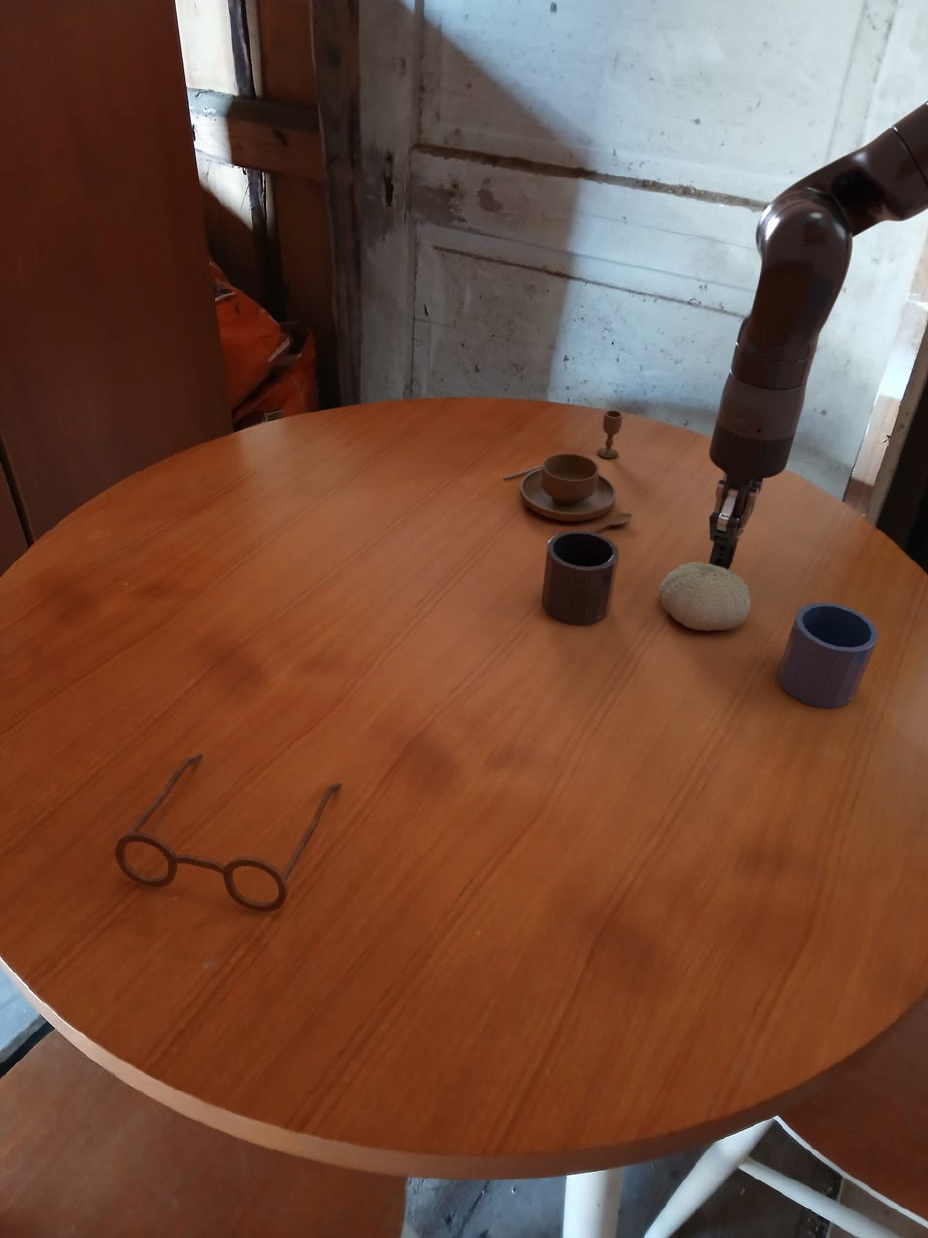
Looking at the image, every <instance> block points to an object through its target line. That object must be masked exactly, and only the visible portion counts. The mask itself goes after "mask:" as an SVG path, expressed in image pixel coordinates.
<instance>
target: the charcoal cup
mask: <svg viewBox="0 0 928 1238" xmlns="http://www.w3.org/2000/svg"><path fill="white" fill-rule="evenodd" d="M619 558H620V553H619V548H618V547H617V545H616V544H615V543H614V542H613V541H612V540H611V539H610V538H608V537H606V536H605V535H603V534H600V533H597V532H590V531H588V530H580V529H576V530H575V529H574V530H567V531H561V532H560V533H558V534H556V535H553V536H552V537H551V539H550V540H548V542H547V545H546V553H545V561H544V562H545V563H544V571H543V572H544V573H543V582H542V589H541V606H542V608H543V611H544V612H545V613H546V615H548V616H549V617H551V618H552V619H554V620H556V621H558V622H561V623H563V624H567V625H571V626H572V625H573V626H589V625H593V624H596V623H599V622H600V621H602V620H603V619H605V618H606V617H607V616H608V614H609V612H610V608H611V605H612V599H613V594H614V593H613V592H614V587H615V581H616V574H617V571H618V564H619Z"/></svg>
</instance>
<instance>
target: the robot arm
mask: <svg viewBox="0 0 928 1238" xmlns="http://www.w3.org/2000/svg"><path fill="white" fill-rule="evenodd" d="M926 210H928V100H927V101H925V102H924V103H922V104H921V105H920V106H918V107H916V108H915V109H913V110H912V111H911V112H909V113H908V114H906V116H904V117H903V118H901V119H899V120H898V121H897V122H896V123H894V124H893V125H891V127H888V128H887V129H886V130H884V131H883V132H882V133H881V134H879V135H878V136H876V138H874V139H873V140H871V141H870V142H868V143H867V144H865V145H864V146H862V147H860V148H857V149H856V150H853V151H852V152H849V153H847V154H845V155H843V156H840V157H839V158H838V159H835V160H834V161H832V162H830V163H828V164H826V165H824V166H822V167H821V168H818V169H816V170H815V171H813V172H811V173H809V174H808V175H806V176H804V177H802V178H801V179H799V180H797V181H796V182H794V183H793V184H791V185H790V186H789V187H788V188H786V189H784V190H783V191H782V192H781V193H779V195H778V196H776V197H775V198H774V199H773V200H772V201H771V202H770V203H769V204H768V205H767V207H766V208H765V209H764V211H763V212H762V213H761V216H760V217H759V219H758V222H757V225H756V230H755V246H756V250H757V253H758V255H759V257H760V260H761V266H760V272H759V277H758V283H757V287H756V291H755V294H754V299H753V303H752V307H751V308H750V309H749V311H748V312H747V313H746V314H745V315H744V317H743V319H742V322H741V324H740V327H739V329H738V334H737V338H736V341H735V346H734V350H733V354H732V359H731V364H730V369H729V372H728V375H727V378H726V380H725V383H724V386H723V389H722V392H721V396H720V400H719V401H720V402H719V406H718V409H717V414H716V419H715V423H714V428H713V431H712V436H711V441H710V445H709V449H708V450H709V451H708V456H709V459H710V460H711V463H713V465H714V466H715V467H717V468H718V469H720V470H721V471H722V472H723V477H722V478H719V480H718V481H717V485H716V489H715V498H716V501H715V504H714V505H715V506H714V510H713V511H712V513H711V514H710V515H709V518H708V520H709V522H708V523H709V524H708V525H709V541H710V542H713V544H712V548H711V553H710V558H709V561H708V564H712V565H715V566H719V567H723V568H725V569H727V570H730V568H731V566H732V564H733V562H734V558H735V554H736V550H737V546H738V544H739V541H740V539H741V536H742V534H744V531H745V528H746V526H747V524H748V522H749V520H750V518H751V516H752V514H753V512H754V509H755V506H756V502H757V499H758V495H760V493H761V491H762V489H763V487H764V485H765V479H769V478H773V477H775V476H777V475H779V474H781V473H782V472H783V471H784V470H786V467H787V464H788V461H789V456H790V454H791V450H792V447H793V444H794V440H795V435H796V432H797V429H798V425H799V422H800V419H801V415H802V412H803V408H804V404H805V398H806V391H807V385H808V380H809V377H810V373H811V370H812V366H813V364H814V359H815V356H816V352H817V348H818V344H819V338H820V335H821V332H822V330H823V328H824V327H825V325H826V323H827V321H828V319H829V317H830V315H831V312H832V311H833V308H834V306H835V305H836V302H837V300H838V297H839V295H840V293H841V290H842V288H843V286H844V282H845V280H846V277H847V274H848V271H849V268H850V264H851V259H852V253H853V244H854V241H853V239H854V238H855V237H856V236H858V235H860V234H862V233H864V232H865V231H867V230H869V229H870V228H872V227H874V226H876V225H878V224H880V223H883V222H887V221H888V222H904V221H908V220H910V219H911V218H914V217H916V216H918V215H920V214H921V213H923V212H924V211H926Z"/></svg>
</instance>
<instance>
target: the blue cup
mask: <svg viewBox="0 0 928 1238" xmlns="http://www.w3.org/2000/svg"><path fill="white" fill-rule="evenodd" d="M878 637H879V632H878V630H877V628H876V626H875V624H874V623H873V622H872V620H870V619H869V618H868V617H867V616H866V615H865V614H863V613H861V612H859V611H857V610H856V609H854V608H852V607H849V606H846V605H843V604H839V603H835V602H822V601H821V602H820V601H819V602H813V603H808V604H805V605H804V606H803V607H801V608H800V609H798V611H797V612H796V615H795V618H794V621H793V624H792V627H791V630H790V633H789V636H788V639H787V642H786V645H785V647H784V651H783V654H782V657H781V660H780V663H779V666H778V670H777V678H778V682H779V684H780V686H781V688H782V689H783V690H784V691H785V692H786V693H787V694H788V695H789V696H791V697H793V698H794V699H796V700H797V701H799V702H801V703H804V704H806V705H808V706H812V707H817V708H821V709H835V708H836V709H837V708H840V707H843V706H845V705H848V704H849V703H850V702H851V701H853V699H854V697H855V695H856V694H857V691H858V689H859V686H860V684H861V681H862V679H863V676H864V674H865V671H866V670H867V667H868V664H869V661H870V659H871V657H872V655H873V652H874V650H875V648H876V645H877V641H878Z"/></svg>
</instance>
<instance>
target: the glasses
mask: <svg viewBox="0 0 928 1238" xmlns="http://www.w3.org/2000/svg"><path fill="white" fill-rule="evenodd" d="M203 754H204V753H202V752H197V753H195V754H192V755H190V756H188V757H185V759H184V760H183V761H182V762H181V763H180V765H179V766H178V767H177V768H176V770H175V771H174V772H173V774H172V775H171V776H170V778H169V780H168V781H167V783H166V784H165V786H164V787H163V788H162V790H161V791H160V792H159V794H157V796H156V797H155V798H154V799H153V801H151V803H150V804H149V806H148V807H146V809H145V810H144V811H143V813H142V814H141V815H140V816H139V817H138V819H137V820H136V821H134V823H133V824H132V826H131V827H130V828H129V829H128V830H127V831H126V833H124V834H123V835H122V837H121V838H120V839H119V840H118V841H117V843H116V845H115V848H114V851H115V852H114V853H115V859H116V862H117V865H118V867H119V869H120V870H121V872H123V873H124V875H125V876H127V877H128V878H129V879H130V880H132V881H134V882H136V883H138V884H140V885H143V886H146V887H151V888H163V887H167V886H169V885H170V884H171V883H172V882H173V880H174V879H175V877H176V874H177V870H178V864H186V865H190V866H195V867H200V868H204V869H208V870H211V871H215V872H217V873H218V874H221V875H222V876H223V882H224V885H225V889H226V891H227V893H228V896H230V898H231V899H232V900H233V901H234V902H236V903H237V904H238V905H239V906H242V907H244V908H246V909H248V910H251V911H255V912H261V913H270V912H275V911H277V910H279V909H281V908H282V906H283V905H284V903H285V901H286V900H287V897H288V892H289V888H288V882H287V881H288V879H289V878H290V876H291V874H292V872H293V871H294V868H296V865H297V863H298V861H299V859H300V858H301V856H302V855H303V852H304V851H305V849H306V847H307V846H308V844H309V842H310V840H311V838H312V837H313V835H314V833H315V831H316V829H317V828H318V825H319V823H320V820H321V818H322V815H323V812H324V809H325V807H326V806H327V803H328V802H329V800H330V797H331V795H332V794H334V793H336V792H340V790H341V788H342V785H343V783H342V782H340V781H337V782H334V783H332V784H330V785H329V786H328V788H327V789H326V791H325V792H324V795H322V797H321V800H320V801H319V803H318V805H317V808H316V810H315V813H314V815H313V817H312V819H311V822H310V823H309V825H308V827H307V829H306V830H305V832H304V833H303V836H302V837H301V839H300V841H299V843H298V844H297V846H296V848H295V849H294V851H293V852H292V855H291V856H290V858H289V860H288V862H287V863H286V864H285V867H284V869H283V870H282V871H281V870H280V869H279V868H278V867H277V866H276V865H274V864H272V863H271V862H269V861H268V860H267V861H266V860H264V859H263V858H259V857H256V856H255V857H254V856H239V857H238V856H237V857H235V858H233V859H231V860H229V861H228V862H227V863H226V864H225V865H224V864H223V863H221V862H220V861H217V860H216V859H212V858H208V857H204V856H199V855H194V854H189V853H181V854H176V851H175V850H174V849H173V848H172V847H171V846H170V845H168V844H167V842H165V841H164V840H162V839H160V838H159V837H157V836H155V835H152V834H149V833H145V832H140V830H142V828H143V827H144V826H145V824H146V823H148V821H149V820H150V818H152V816H153V815H154V814H155V813H156V811H158V809H159V807H160V806H162V804H163V803H164V802H165V800H166V799H167V798H168V797H169V795H170V793H171V792H172V791H173V789H174V787H175V785H176V784H177V782H178V781H179V779H180V778H181V777H182V775H184V773H185V771H186V770H187V769H188V767H191V766H193V765H194V764H197V763H199V762H201V761H202V758H203ZM134 842H135V843H136V842H139V843H143V844H147V845H150V846H152V847H154V848H156V849H157V850H158V851H159V852H161V854H162V855H163V856H164V858H165V859H166V862H167V873H166V875H165V876H163V877H150V876H147V875H144V874H142V873H140V872H139V871H137V870H135V869H134V868H133V866H131V864H130V863H129V861H128V859H127V856H126V848H127V846H129V844H130V843H134ZM241 867H252V868H256V869H260V870H262V871H264V872H266V873H267V874H268V875H269V876H271V877H272V879H273V880H274V882H276V885H277V889H278V895H277V898H275V899H274V900H273V901H269V902H262V901H257V900H253V899H250V898H248V897H247V896H245V895H243V894H242V893H241V892H240V891H239V890H238V888H237V887H236V884H235V880H234V871H235V870H236V869H238V868H241Z"/></svg>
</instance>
